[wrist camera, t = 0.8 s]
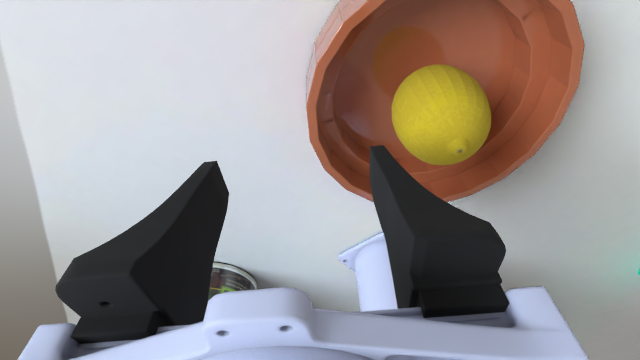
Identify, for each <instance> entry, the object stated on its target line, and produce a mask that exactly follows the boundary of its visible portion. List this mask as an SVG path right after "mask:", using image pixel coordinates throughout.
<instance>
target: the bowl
mask: <svg viewBox="0 0 640 360" xmlns="http://www.w3.org/2000/svg"><path fill="white" fill-rule="evenodd" d="M583 52H584V41H583V37H582V33H581V30H580V26H579V23H578V19H577V15H576V12H575V8H574V5H573V3H572V2H571V1H570V0H340V1H339V2H338V4H337V5H336V6H335V8H334V10H333V11H332V13H331V15H330V17H329V18H328V20H327V22H326V23H325V25H324V27H323V28H322V30H321V32H320V33H319V35H318V37H317V38H316V41H315V43H314V47H313V51H312V56H311V60H310V64H309V68H308V73H307V77H306V108H307V118H308V128H309V137H310V142H311V144H312V146H313V148H314V150H315V152H316V154H317V156H318V158H319V160H320V162H321V164H322V166H323V168H324V169H325V170H326V171H327V172H328V173H329V174H330V175H331V176H332V177H333V178H334V179H335V180H336V181H337V182H339V183H340V184H341V185H342V186H343V187H344V188H345V189H347V190H348V191H350V192H353V193H355V194H357V195H359V196H361V197H363V198H366V199H368V200H370V201H372V202H374V201H373V197H372V191H371V185H370V146H378V145H384V146H385V147H386V149H387V150H388V151H389V152H390V154H391V155H392V156H393V157H394V158H395V159H396V161H397V162H398V163H399V164H400V165H401V166H402V167H403V168H404V169H405V170H406V171H407V172H408V173H409V174H410V175H411V176H412V177H413V178H414V179H415V180H416V181H417V182H419V183H420V184H421V185H422V186H423V187H425V188H426V189H427V190H429V191H430V192H431V193H433V194H434V195H436V196H437V197H439V198H440V199H442V200H444V201H445V202H449V201H452V200H456V199H459V198H463V197H466V196H470V195H472V194H474V193H476V192H478V191H480V190H482V189H484V188H486V187H488V186H490V185H492V184H494V183H496V182H498V181H500V180H502V179H503V178H505V177H506V176H508V175H509V174H510V173H512V172H513V171H514V170H515V169H517V168H518V167H519V166H521V165H522V164H523V163H524V162H526V161H527V160H528V159H529V158H531V157H532V156H533V155H534V154H535V153H536V152H537V151H538V150H539V149H540V147H541V146H542V145H543V144H544V143H545V141H546V140H547V139H548V138H549V137H550V135H551V134H552V133H553V132H554V131H555V129H556V128H557V127H558V126H559V125H560V123H561V121H562V119H563V117H564V115H565V113H566V111H567V109H568V107H569V105H570V103H571V101H572V99H573V96H574V94H575V92H576V90H577V88H578V85H579V81H580V74H581V67H582V59H583ZM434 64H438V65H450V66H453V67H456V68H459V69H461V70H463V71H465V72H466V73H467V74H469V75H470V76H472V77H473V78H474V79H475V80H476V81H477V82H478V84H479V85H480V86H481V88H482V89H483V91H484V92H485V94H486V96H487V99H488V103H489V106H490V110H491V128H490V131H489V134H488V136H487V139H486V140H485V142H484V143H483V145H482V146H481V148H480V149H479V150H478V151H477V152H476V153H475V154H473V155H472V156H471V157H469V158H468V159H466V160H464V161H461V162H459V163H455V164H452V165H433V164H429V163H426V162H424V161H421V160H420V159H418V158H417V157H415V156H414V155H412V154H411V153H410V152H409V151H408V150H407V149H406V148H405V147H404V145H403V144H402V142H401V141H400V140H399V138H398V137H397V135H396V132H395V129H394V126H393V123H392V102H393V99H394V95H395V93H396V91H397V89H398V87H399V86H400V84H401V83H402V82H403V81H404V80H405V78H406V77H408V76H409V75H410V74H412V73H413V72H414V71H416V70H418V69H421V68H423V67H425V66H430V65H434Z"/></svg>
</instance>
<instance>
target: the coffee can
mask: <svg viewBox="0 0 640 360" xmlns="http://www.w3.org/2000/svg"><path fill="white" fill-rule="evenodd" d="M255 289H257V284H256V282H255V280H254V279H253V278H252V277H251V276H250V275H249V274H248V273H247V272H245V271H243V270H241V269H239V268H237V267H235V266H231V265H228V264H223V263H217V262H213V268H212V274H211V281H210V289H209V297H208V301H209V300H210V299H211V298H212V297H213V296H215V295H216V294H220V293H224V292H230V291H243V290H255Z"/></svg>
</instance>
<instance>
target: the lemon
mask: <svg viewBox="0 0 640 360" xmlns="http://www.w3.org/2000/svg"><path fill="white" fill-rule="evenodd" d="M392 123H393V126H394V129H395V132H396V135H397V137H398V138H399V140H400V141H401V142H402V144H403V145H404V147H405V148H406V149H407V150H408V151H409V152H410V153H411V154H412V155H414V156H415V157H417V158H418V159H420V160H421V161H424V162H426V163H429V164H433V165H452V164H455V163H459V162H461V161H464V160H466V159H468V158H469V157H471V156H472V155H473V154H475V153H476V152H477V151H478V150H479V149H480V148H481V146H482V145H483V143H484V142H485V140H486V139H487V136H488V134H489V131H490V128H491V110H490V106H489V103H488V99H487V96H486V94H485V92H484V91H483V89H482V88H481V86H480V85H479V84H478V82H477V81H476V80H475V79H474V78H473V77H472V76H470V75H469V74H467V73H466V72H465V71H463V70H461V69H459V68H456V67H453V66H450V65H438V64H434V65H430V66H425V67H423V68H421V69H418V70H416V71H414V72H413V73H412V74H410V75H409V76H408V77H406V78H405V80H404V81H403V82H402V83H401V84H400V86H399V87H398V89H397V91H396V93H395V95H394V99H393V102H392Z"/></svg>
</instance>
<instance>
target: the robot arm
mask: <svg viewBox="0 0 640 360" xmlns="http://www.w3.org/2000/svg"><path fill="white" fill-rule="evenodd" d="M370 185H371V191H372V197H373V201H374V204H375V207H376V211H377V214H378V217H379V221H380V224H381V227H382V230H383V232H382V233H380V234H378V235H376V236H374V237H372V238H370V239H368V240H366V241H364V242H362V243H360V244H359V245H357V246H355V247H353V248H351V249H349V250H347V251H345V252H343V253H341V254H339V255H338V260H339V261H341V262H342V263H344V264H345V265H346V266H348V267H349V268H350V269H352V270H353V271H355V272H356V279H357V287H358V295H359V302H360V310H361V312H342V311H332V310H322V309H313V307H312V302H311V299H310V298H309V297H308V295H307V294H306V293H305V292H303V291H301V290H298V289H296V288H286V287H280V288H268V289H255V290H243V291H230V292H224V293H220V294H216V295H215V296H213V297H212V298H211V299H210V300H209V301H208V297H209V289H210V281H211V274H212V268H213V261H214V256H215V252H216V248H217V244H218V241H219V237H220V234H221V230H222V227H223V223H224V219H225V216H226V212H227V205H228V197H229V192H228V189H227V187H226V184H225V181H224V179H223V176H222V174H221V171H220V168H219V166H218V163H217V161H212V162H204V163H203V164H202V165H201V166H200V167H199V168H198V169H197V170H196V171H195V172H194V173H193V174H192V175H191V176H190V177H189V178H188V179H187V180H186V181H185V182H184V183H183V184H182V185H181V186H180V187H179V189H178V190H176V191H175V192H174V193H173V194H172V195H171V196H170V197H169V198H168V199H167V200H166V201H165V202H164V203H163V204H161V205H160V206H159V207H158V208H157V209H155V210H154V211H153V212H152V213H150V214H149V215H148V216H147V217H145V218H144V219H143V220H141V221H140V222H138V223H137V224H135V225H134V226H132V227H131V228H129V229H128V230H126V231H125V232H123V233H122V234H120V235H118V236H117V237H115V238H113V239H111V240H110V241H108V242H106V243H104V244H102V245H101V246H99V247H97V248H95V249H93V250H91V251H89V252H87V253H84V254H82V255H80V256H78V257H76V258H74V259H73V261H72V262H71V264H70V265H69V267H68V268H67V270H66V271H65V273H64V274H63V276H62V278H61V279H60V281H59V282H58V284H57V285H56V293H57V295H58V297H59V298H60V299H61V300H62V301H63V302H64V303H65V304H66V305H67V306H69V307H70V308H71V309H72V310H73V311H75V312H76V313H77V314H78V315H79V316H81V318H80V320H79V322H78V324H77V325H75V324H71V323H60V324H48V325H41V326H39V327H38V328H37V330H36V332H35V333H34V335H33V336H32V338H31V339H30V341H29V343H28V344H27V346H26V347H25V349H24V351H23V352H22V354H21V355H20V357H19V358H18V360H588V358H589V357H588V356H587V354H586V352H585V351H584V349H583V348H582V346H581V344H580V343H579V341H578V339H577V338H576V336H575V335H574V333H573V331H572V330H571V328H570V327H569V325H568V323H567V322H566V320H565V318H564V317H563V315H562V314H561V312H560V310H559V309H558V307H557V306H556V304H555V302H554V301H553V299H552V297H551V296H550V294H549V293H548V291H547V289H546V288H545V287H543V286H536V287H523V288H513V289H509V290H507V291H506V292H505V293H504V291H503V289H502V287H501V285H500V284H501V283H502V279H501V277H500V275H499V273H498V270H499V267H500V265H501V263H502V261H503V259H504V256H505V253H506V248H505V245H504V243H503V241H502V240H501V238H500V236H499V235H498V233H497V232H496V230H495V229H494V228H493V227H492V225H491V224H490V223H489V222H487V221H485V220H482V219H480V218H477V217H475V216H472V215H470V214H468V213H466V212H464V211H462V210H460V209H458V208H456V207H454V206H452V205H450V204H449V203H447V202H445V201H444V200H442V199H440V198H439V197H437V196H436V195H434V194H433V193H431V192H430V191H429V190H427V189H426V188H425V187H423V186H422V185H421V184H420V183H419V182H417V181H416V180H415V179H414V178H413V177H412V176H411V175H410V174H409V173H408V172H407V171H406V170H405V169H404V168H403V167H402V166H401V165H400V164H399V163H398V162H397V161H396V159H395V158H394V157H393V156H392V155H391V154H390V152H389V151H388V150H387V149H386V147H385V146H384V145H378V146H370Z"/></svg>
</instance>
